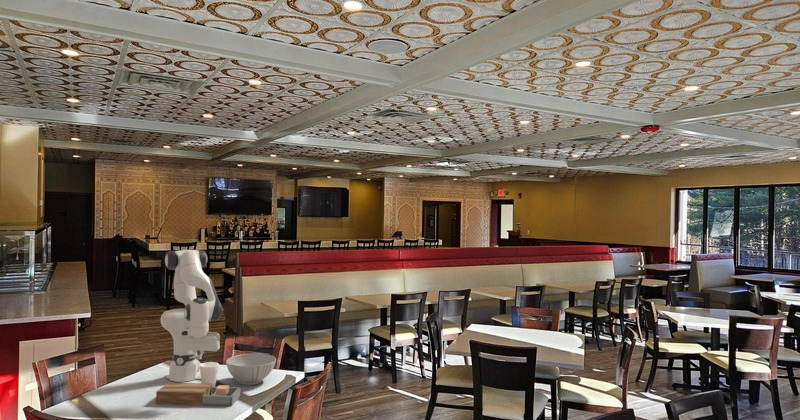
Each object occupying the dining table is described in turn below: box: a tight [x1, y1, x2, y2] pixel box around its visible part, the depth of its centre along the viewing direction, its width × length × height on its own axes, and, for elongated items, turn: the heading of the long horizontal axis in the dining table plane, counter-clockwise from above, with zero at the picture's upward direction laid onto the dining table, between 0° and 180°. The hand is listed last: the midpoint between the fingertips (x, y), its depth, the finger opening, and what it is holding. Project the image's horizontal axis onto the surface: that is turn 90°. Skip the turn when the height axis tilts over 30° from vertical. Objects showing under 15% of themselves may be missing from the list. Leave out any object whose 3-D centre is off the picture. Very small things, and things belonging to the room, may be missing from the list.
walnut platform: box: [155, 382, 212, 406], centre depth 263 cm, size 14×22×6 cm, turn 90°
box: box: [202, 386, 241, 407], centre depth 263 cm, size 14×14×4 cm
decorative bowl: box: [225, 353, 277, 386], centre depth 294 cm, size 27×27×12 cm
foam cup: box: [200, 361, 220, 387], centre depth 279 cm, size 10×9×13 cm
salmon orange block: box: [216, 384, 230, 395], centre depth 263 cm, size 5×5×3 cm
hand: (198, 359), depth 263 cm, fingers closed
